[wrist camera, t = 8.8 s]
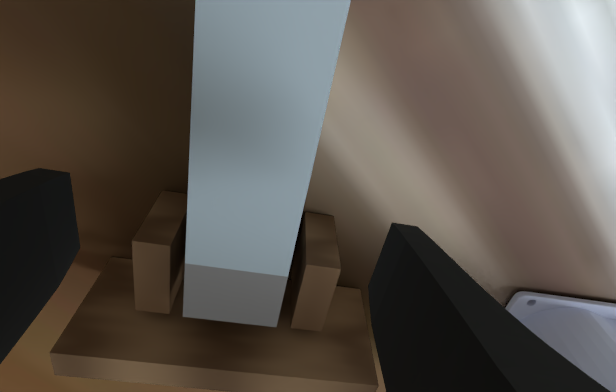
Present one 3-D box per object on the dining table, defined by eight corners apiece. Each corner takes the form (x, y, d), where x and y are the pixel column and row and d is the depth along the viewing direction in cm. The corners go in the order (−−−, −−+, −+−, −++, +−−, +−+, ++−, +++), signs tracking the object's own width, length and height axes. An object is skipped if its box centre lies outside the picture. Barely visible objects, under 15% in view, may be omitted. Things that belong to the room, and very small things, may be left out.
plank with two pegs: (384, 224, 20) (413, 313, 15) (353, 306, 23) (369, 404, 18) (104, 181, 18) (29, 265, 13) (113, 277, 21) (54, 375, 16)
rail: (236, -143, 12) (203, -200, 8) (355, -112, 13) (384, -151, 9) (206, 243, 20) (182, 316, 16) (280, 253, 21) (276, 327, 17)
